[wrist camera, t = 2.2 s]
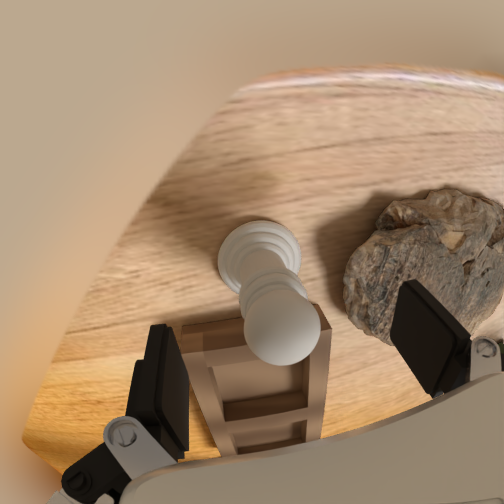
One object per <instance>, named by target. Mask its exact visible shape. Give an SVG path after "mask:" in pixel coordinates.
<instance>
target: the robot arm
mask: <svg viewBox="0 0 504 504" xmlns="http://www.w3.org/2000/svg"><path fill="white" fill-rule="evenodd" d="M470 337H471V334H470V333H469V332H468V331H467V330H466V329H465V328H464V327H463V326H462V325H461V324H460V323H459V322H458V320H457V319H456V318H455V317H454V316H453V315H452V314H451V313H450V312H449V311H448V310H447V309H446V308H445V307H444V306H443V305H442V304H441V303H440V302H439V301H438V300H437V299H436V298H435V297H434V296H433V295H432V294H431V293H430V292H429V291H428V290H427V289H426V288H425V287H424V286H423V285H422V284H421V283H420V282H419V281H418V280H416V279H412V280H408V281H404V282H403V283H402V285H401V286H400V287H399V291H398V297H397V302H396V307H395V312H394V316H393V321H392V325H391V330H390V339H391V341H392V343H393V344H394V345H395V347H396V348H397V350H398V351H399V353H400V354H401V356H402V357H403V359H404V360H405V362H406V363H407V365H408V366H409V368H410V369H411V371H412V372H413V374H414V375H415V377H416V378H417V380H418V381H419V383H420V384H421V386H422V387H423V389H424V391H425V392H426V393H427V394H430V395H431V397H432V399H433V400H430V401H428V402H426V403H424V404H421V405H419V406H417V407H414V408H412V409H410V410H407V411H405V412H402V413H400V414H397V415H394V416H392V417H389V418H386V419H384V420H381V421H378V422H375V423H372V424H369V425H366V426H363V427H360V428H357V429H354V430H351V431H347V432H344V433H341V434H337V435H334V436H330V437H326V438H322V439H318V440H314V441H310V442H306V443H302V444H297V445H293V446H288V447H283V448H278V449H272V450H267V451H261V452H255V453H248V454H242V455H235V456H227V457H219V458H210V459H202V460H194V461H188V462H182V463H178V459H184V451H189V375H188V371H187V369H186V366H185V363H184V361H183V358H182V355H181V352H180V350H179V347H178V344H177V341H176V338H175V335H174V332H173V329H172V327H167V325H166V324H157V325H151V326H150V330H149V335H148V340H147V345H146V350H145V355H144V359H143V360H137V361H136V363H135V367H134V371H133V376H132V381H131V387H130V392H129V397H128V403H127V408H126V414H125V416H122V417H117V418H115V419H113V420H112V421H110V422H109V423H108V424H107V426H106V427H105V429H104V433H103V438H104V441H105V442H103V443H102V444H101V445H99V446H98V447H97V448H95V449H94V450H92V451H91V452H90V453H88V454H87V455H86V456H84V457H83V458H81V459H80V460H79V461H77V462H76V463H74V464H73V465H72V466H70V467H69V468H68V469H67V470H66V471H65V472H64V474H63V476H62V480H61V482H62V489H61V490H60V492H58V491H55V493H54V494H53V495H52V497H51V498H50V499H49V501H48V502H47V503H46V504H504V354H502V353H500V348H499V346H498V344H497V343H496V342H495V341H494V340H493V339H491V338H489V337H486V336H479V337H476V338H475V339H474V340H473V341H471V340H470ZM443 393H444V394H443ZM442 394H443V395H442ZM440 395H441V396H440ZM438 396H439V397H438ZM436 397H437V398H436ZM434 398H435V399H434Z"/></svg>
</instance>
